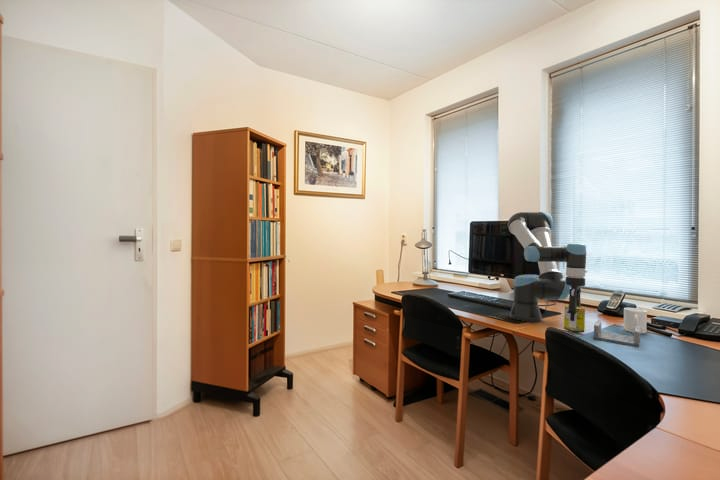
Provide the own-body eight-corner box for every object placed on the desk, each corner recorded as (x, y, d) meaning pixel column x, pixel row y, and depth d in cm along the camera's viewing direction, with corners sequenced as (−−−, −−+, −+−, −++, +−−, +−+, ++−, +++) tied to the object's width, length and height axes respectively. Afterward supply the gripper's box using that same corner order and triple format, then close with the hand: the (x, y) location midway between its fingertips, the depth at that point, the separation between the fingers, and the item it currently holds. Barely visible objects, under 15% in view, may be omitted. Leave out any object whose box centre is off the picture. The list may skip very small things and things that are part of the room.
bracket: (593, 338, 144) (594, 325, 144) (597, 332, 153) (597, 319, 153) (638, 346, 134) (639, 332, 134) (639, 339, 143) (640, 326, 143)
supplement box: (584, 332, 151) (585, 308, 151) (571, 332, 151) (572, 308, 151) (576, 328, 157) (577, 305, 157) (563, 328, 157) (564, 305, 157)
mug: (647, 337, 147) (648, 314, 147) (623, 333, 152) (624, 311, 152) (645, 331, 157) (646, 309, 156) (623, 327, 162) (623, 306, 161)
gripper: (581, 280, 143) (580, 332, 144) (588, 275, 159) (587, 322, 160) (561, 278, 148) (560, 328, 149) (570, 273, 164) (569, 319, 165)
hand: (574, 325), depth 154 cm, fingers closed on supplement box, 8 cm apart
